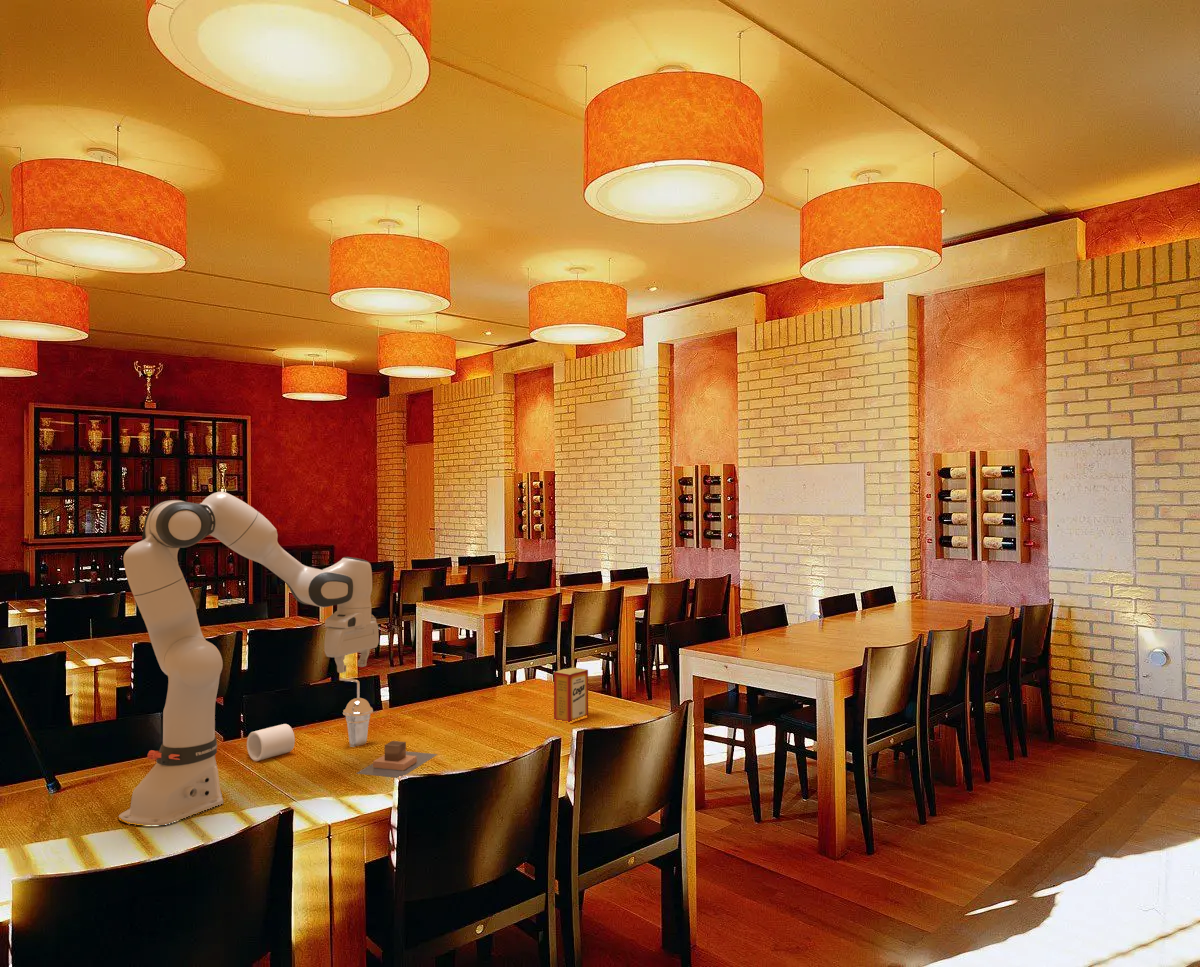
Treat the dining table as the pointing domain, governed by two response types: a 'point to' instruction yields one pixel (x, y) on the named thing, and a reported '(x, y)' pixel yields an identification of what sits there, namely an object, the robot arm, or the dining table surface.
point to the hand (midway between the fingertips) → (352, 669)
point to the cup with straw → (357, 717)
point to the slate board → (396, 773)
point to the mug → (270, 742)
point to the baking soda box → (570, 694)
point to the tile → (395, 763)
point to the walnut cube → (395, 751)
